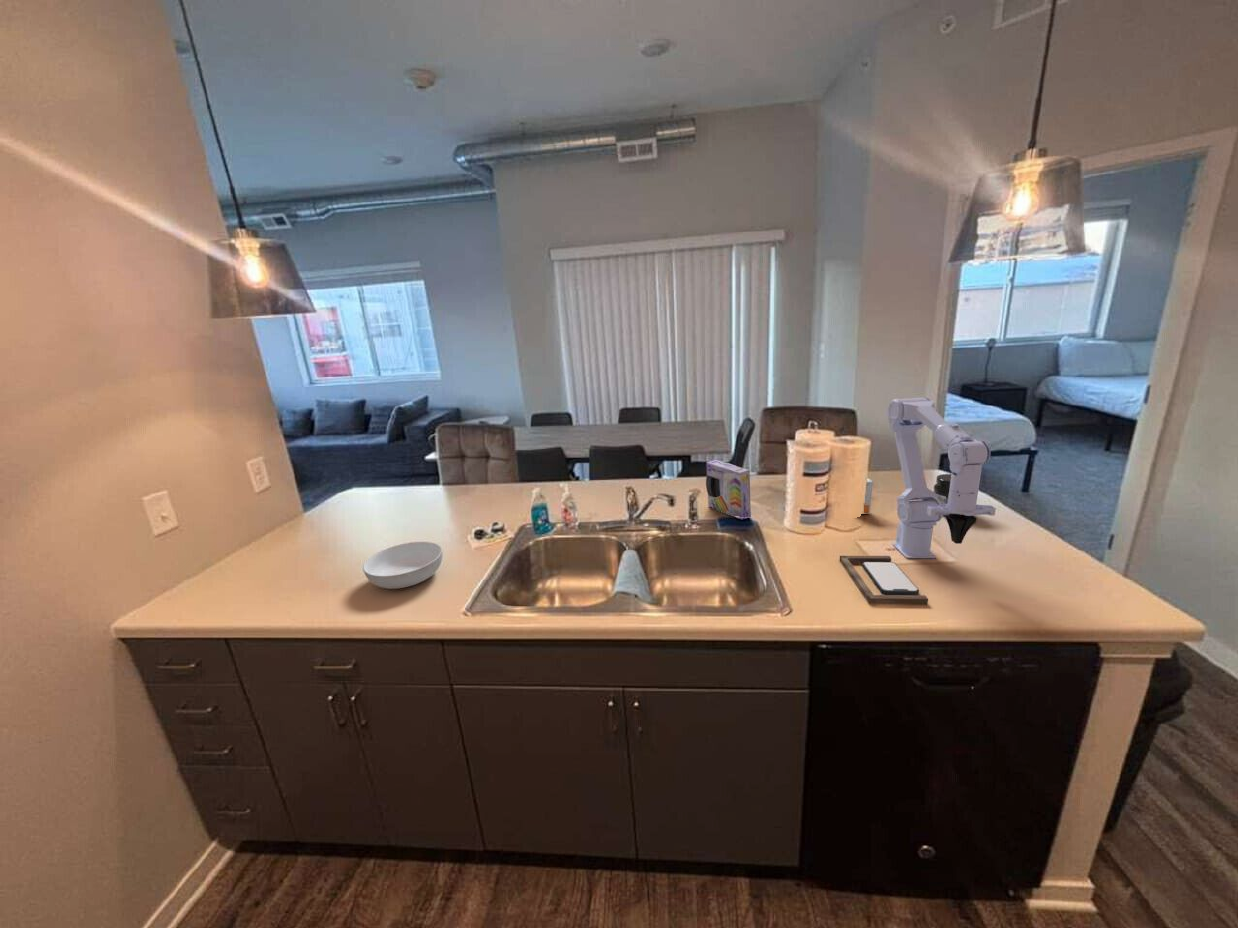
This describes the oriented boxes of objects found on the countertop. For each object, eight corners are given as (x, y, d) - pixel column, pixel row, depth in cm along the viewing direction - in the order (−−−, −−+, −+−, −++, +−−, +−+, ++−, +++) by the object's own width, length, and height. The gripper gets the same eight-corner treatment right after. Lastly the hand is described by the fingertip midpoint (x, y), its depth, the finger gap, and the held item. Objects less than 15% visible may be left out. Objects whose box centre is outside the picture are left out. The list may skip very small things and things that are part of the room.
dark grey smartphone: (859, 566, 136) (881, 596, 121) (860, 561, 136) (882, 590, 120) (894, 567, 135) (921, 597, 120) (894, 561, 134) (921, 591, 119)
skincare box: (851, 515, 168) (853, 481, 165) (847, 510, 172) (850, 477, 169) (870, 515, 167) (873, 481, 164) (866, 510, 171) (868, 477, 168)
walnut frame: (839, 560, 138) (839, 555, 138) (888, 560, 137) (889, 555, 136) (869, 603, 117) (869, 598, 117) (927, 604, 116) (928, 598, 116)
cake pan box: (705, 506, 184) (704, 460, 179) (715, 503, 186) (715, 457, 181) (740, 522, 168) (741, 472, 163) (751, 519, 170) (752, 469, 165)
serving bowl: (371, 571, 148) (366, 550, 146) (444, 556, 155) (441, 536, 153) (363, 605, 129) (358, 582, 127) (447, 587, 136) (443, 564, 134)
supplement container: (967, 509, 168) (972, 475, 165) (969, 520, 159) (974, 484, 156) (930, 504, 173) (934, 472, 170) (930, 515, 165) (935, 481, 161)
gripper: (940, 496, 116) (933, 548, 120) (1006, 495, 115) (998, 548, 118) (925, 486, 123) (919, 536, 127) (988, 485, 121) (980, 536, 125)
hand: (956, 541), depth 123 cm, fingers closed
